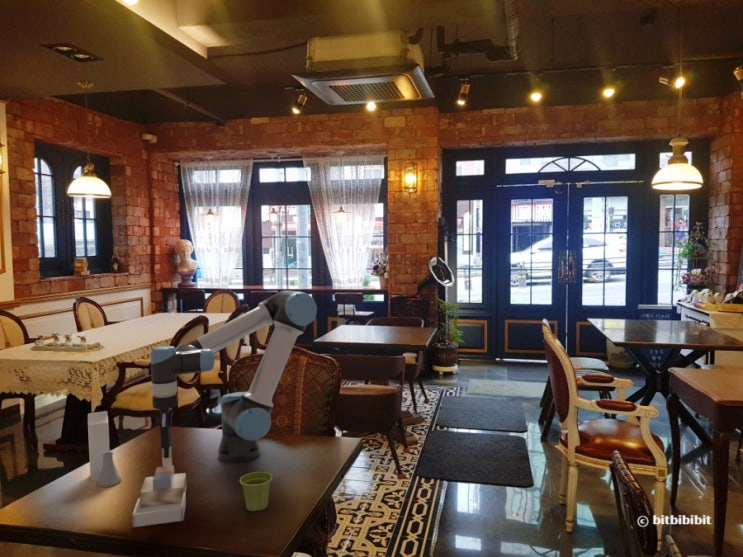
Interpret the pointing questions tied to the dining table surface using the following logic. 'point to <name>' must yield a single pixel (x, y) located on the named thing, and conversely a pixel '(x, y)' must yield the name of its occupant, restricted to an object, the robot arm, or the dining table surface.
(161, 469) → the terracotta tile
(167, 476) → the slate tile
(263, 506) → the plant pot
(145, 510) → the box
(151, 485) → the cream square tray
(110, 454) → the flask
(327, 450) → the dining table surface
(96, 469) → the milk
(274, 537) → the dining table surface
